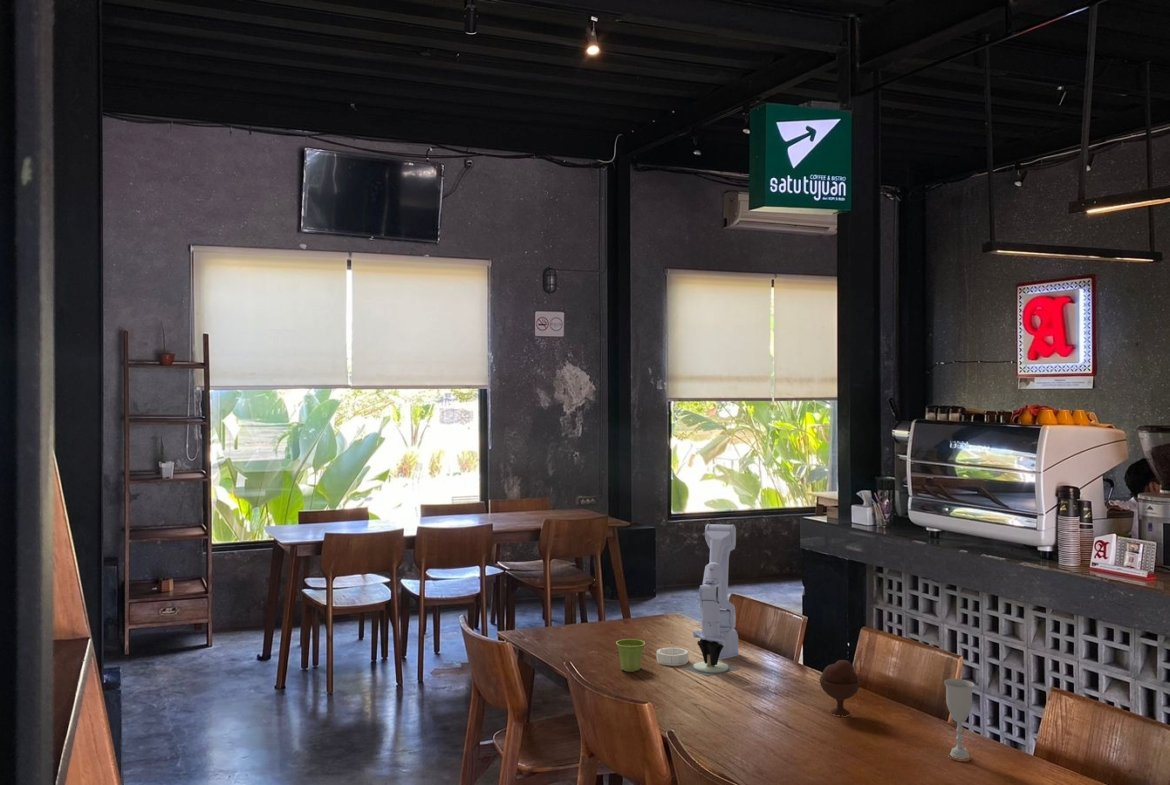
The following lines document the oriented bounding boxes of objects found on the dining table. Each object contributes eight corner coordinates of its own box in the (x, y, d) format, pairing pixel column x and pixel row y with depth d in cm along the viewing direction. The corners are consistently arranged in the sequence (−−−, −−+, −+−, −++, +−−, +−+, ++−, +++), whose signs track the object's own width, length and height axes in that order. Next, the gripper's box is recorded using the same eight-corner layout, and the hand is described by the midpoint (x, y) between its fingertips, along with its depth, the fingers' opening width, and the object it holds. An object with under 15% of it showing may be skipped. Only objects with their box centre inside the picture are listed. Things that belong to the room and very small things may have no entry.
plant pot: (645, 665, 322) (645, 639, 322) (644, 673, 313) (644, 646, 313) (617, 665, 323) (616, 638, 323) (615, 673, 314) (614, 645, 314)
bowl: (673, 656, 333) (673, 646, 333) (694, 663, 325) (694, 652, 325) (650, 661, 327) (650, 650, 327) (671, 668, 319) (670, 657, 319)
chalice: (939, 753, 241) (938, 679, 241) (966, 752, 242) (965, 678, 242) (952, 764, 234) (952, 688, 234) (980, 763, 235) (979, 687, 235)
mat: (713, 662, 326) (713, 660, 326) (740, 669, 316) (740, 668, 316) (681, 669, 318) (681, 668, 318) (708, 677, 308) (708, 676, 308)
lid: (711, 661, 325) (711, 648, 325) (735, 669, 316) (735, 655, 316) (686, 667, 318) (686, 654, 318) (710, 675, 309) (710, 661, 309)
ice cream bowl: (861, 709, 275) (861, 655, 275) (859, 722, 265) (858, 666, 265) (822, 706, 279) (822, 652, 279) (818, 718, 268) (817, 662, 268)
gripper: (685, 619, 320) (686, 661, 320) (717, 627, 309) (717, 671, 309) (701, 616, 325) (702, 657, 325) (733, 624, 313) (734, 667, 313)
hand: (710, 663), depth 317 cm, fingers closed on lid, 2 cm apart
